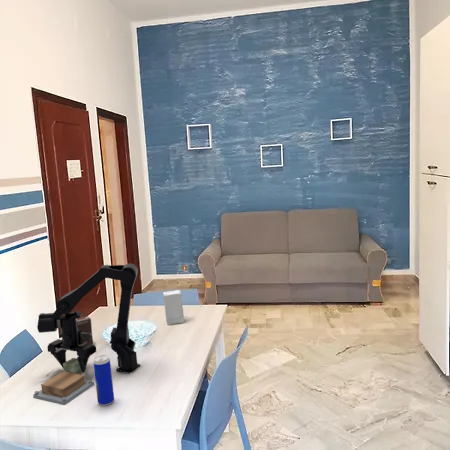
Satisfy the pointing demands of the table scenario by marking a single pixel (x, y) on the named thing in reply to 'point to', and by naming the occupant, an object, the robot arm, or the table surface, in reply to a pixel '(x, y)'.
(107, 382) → the beverage can
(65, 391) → the base brick
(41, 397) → the baseplate
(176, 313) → the skincare box
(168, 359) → the table surface
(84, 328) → the box
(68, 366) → the block
